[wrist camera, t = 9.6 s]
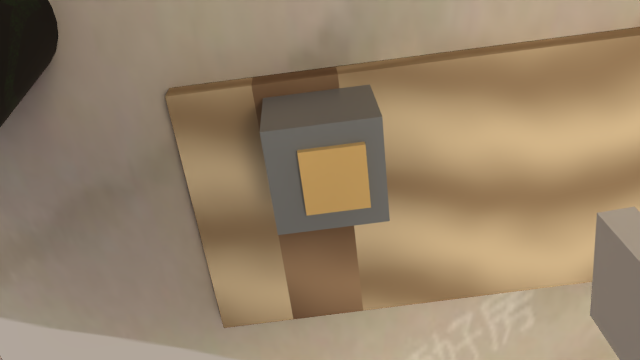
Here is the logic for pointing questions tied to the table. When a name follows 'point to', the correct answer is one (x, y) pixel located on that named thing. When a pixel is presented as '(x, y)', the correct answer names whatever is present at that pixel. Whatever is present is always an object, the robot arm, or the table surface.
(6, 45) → the cup
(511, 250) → the panel
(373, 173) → the grey block
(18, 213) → the table surface
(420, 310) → the table surface
